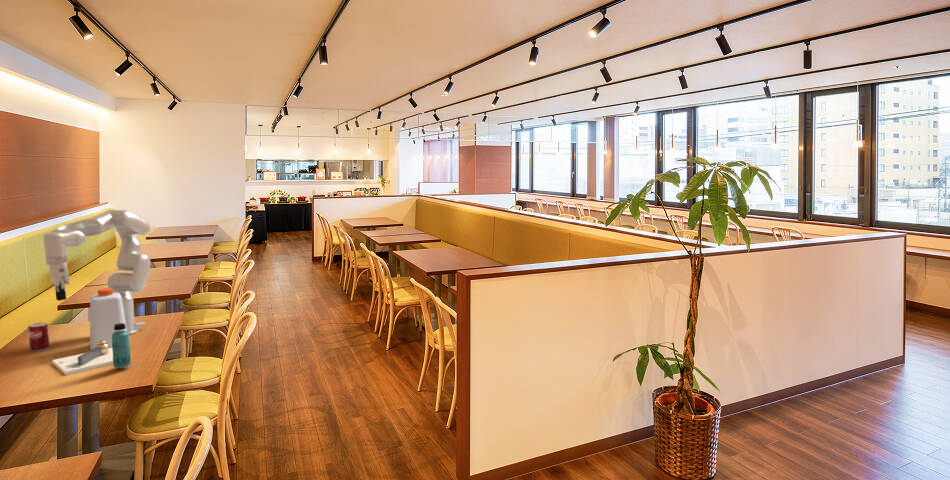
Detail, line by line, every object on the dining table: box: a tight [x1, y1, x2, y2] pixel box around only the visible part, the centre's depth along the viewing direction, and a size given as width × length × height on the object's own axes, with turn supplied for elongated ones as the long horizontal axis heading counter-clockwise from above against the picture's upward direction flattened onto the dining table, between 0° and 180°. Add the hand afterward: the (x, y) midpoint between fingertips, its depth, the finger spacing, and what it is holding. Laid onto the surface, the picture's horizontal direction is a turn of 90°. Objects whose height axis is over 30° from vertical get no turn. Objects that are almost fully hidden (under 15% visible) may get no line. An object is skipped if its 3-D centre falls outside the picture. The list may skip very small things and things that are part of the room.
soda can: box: [27, 322, 51, 352], centre depth 251 cm, size 7×7×12 cm
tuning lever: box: [78, 340, 108, 364], centre depth 236 cm, size 17×4×6 cm, turn 2°
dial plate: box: [51, 347, 114, 376], centre depth 237 cm, size 23×20×2 cm
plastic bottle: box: [89, 288, 127, 351], centre depth 256 cm, size 15×15×28 cm
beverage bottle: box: [112, 323, 132, 369], centre depth 229 cm, size 6×7×20 cm
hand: (61, 299), depth 241 cm, fingers closed
